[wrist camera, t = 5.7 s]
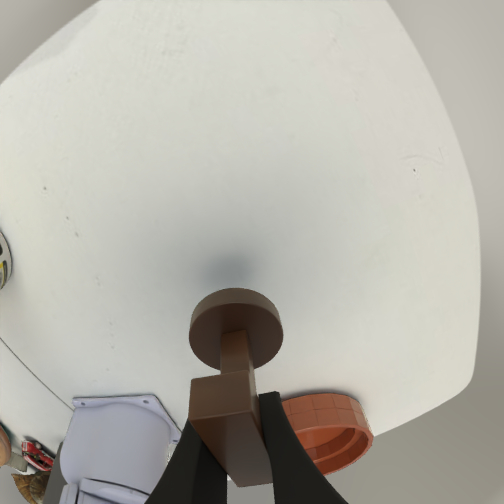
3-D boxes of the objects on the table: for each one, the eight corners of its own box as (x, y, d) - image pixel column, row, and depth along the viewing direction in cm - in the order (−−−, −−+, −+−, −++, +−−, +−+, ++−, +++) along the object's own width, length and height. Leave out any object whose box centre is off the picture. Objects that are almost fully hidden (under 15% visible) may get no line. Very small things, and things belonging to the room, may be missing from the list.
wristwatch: (11, 441, 30) (2, 465, 25) (39, 463, 32) (32, 486, 28) (-12, 439, 31) (-21, 459, 26) (13, 459, 33) (6, 479, 29)
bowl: (257, 459, 31) (260, 488, 27) (230, 404, 25) (232, 441, 22) (358, 436, 30) (367, 464, 27) (364, 374, 25) (378, 408, 21)
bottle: (58, 450, 30) (35, 538, 17) (61, 436, 28) (33, 535, 15) (96, 467, 32) (80, 555, 18) (103, 454, 30) (84, 555, 16)
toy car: (59, 466, 32) (54, 481, 29) (20, 437, 29) (14, 453, 26) (72, 466, 32) (68, 483, 29) (32, 436, 28) (25, 454, 26)
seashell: (57, 467, 32) (75, 513, 28) (70, 468, 38) (86, 507, 34) (0, 472, 26) (16, 517, 22) (20, 474, 33) (34, 512, 29)
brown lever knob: (209, 370, 17) (206, 490, 10) (174, 287, 14) (144, 422, 7) (287, 354, 16) (315, 475, 10) (268, 266, 14) (301, 400, 7)
